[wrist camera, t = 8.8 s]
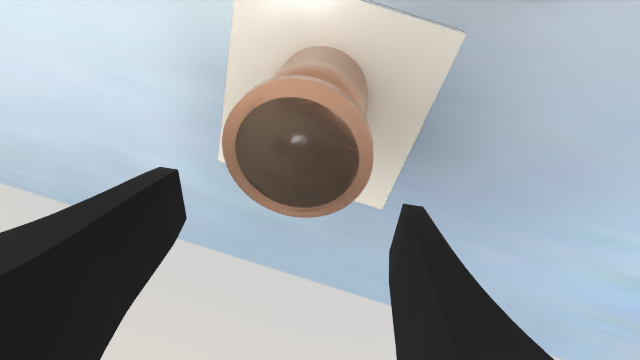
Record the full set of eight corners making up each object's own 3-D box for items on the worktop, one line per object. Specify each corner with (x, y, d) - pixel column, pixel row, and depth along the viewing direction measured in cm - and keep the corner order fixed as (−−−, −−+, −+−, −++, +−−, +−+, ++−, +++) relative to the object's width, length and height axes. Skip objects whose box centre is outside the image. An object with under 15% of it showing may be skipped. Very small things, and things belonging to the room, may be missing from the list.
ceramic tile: (462, 31, 16) (466, 34, 16) (381, 201, 22) (381, 209, 22) (243, -39, 16) (237, -39, 15) (222, 154, 22) (217, 160, 21)
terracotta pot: (382, 46, 16) (387, 93, 11) (364, 147, 19) (360, 227, 14) (270, 33, 17) (215, 71, 11) (270, 134, 20) (227, 206, 14)
